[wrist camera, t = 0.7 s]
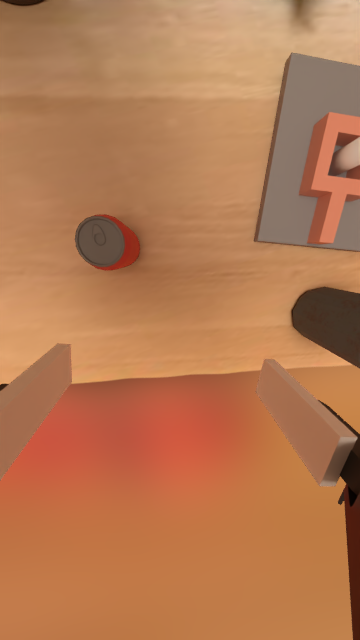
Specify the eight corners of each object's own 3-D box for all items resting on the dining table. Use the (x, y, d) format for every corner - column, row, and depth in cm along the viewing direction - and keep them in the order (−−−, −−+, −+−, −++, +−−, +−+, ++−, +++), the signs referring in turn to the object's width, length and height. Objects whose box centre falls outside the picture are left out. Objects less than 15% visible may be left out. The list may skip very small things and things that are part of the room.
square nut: (314, 125, 31) (329, 111, 28) (369, 134, 32) (390, 122, 29) (288, 241, 35) (299, 239, 33) (337, 246, 36) (352, 245, 33)
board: (285, 62, 30) (324, 0, 22) (409, 86, 31) (481, 36, 24) (253, 241, 36) (276, 237, 29) (357, 251, 38) (401, 250, 31)
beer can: (134, 222, 34) (120, 205, 23) (144, 262, 36) (135, 266, 25) (95, 229, 34) (61, 216, 23) (107, 270, 36) (80, 276, 25)
